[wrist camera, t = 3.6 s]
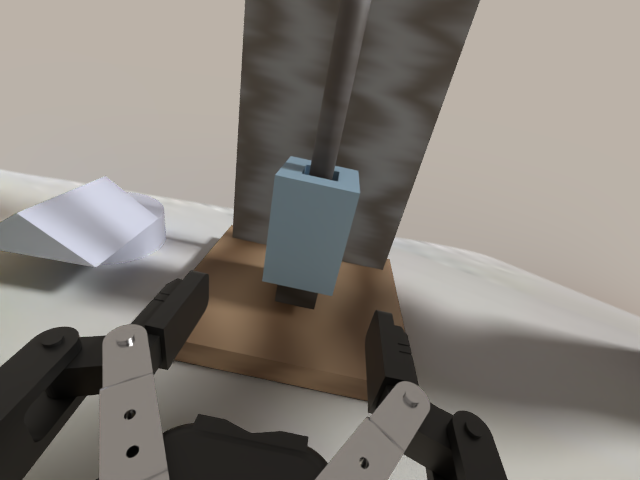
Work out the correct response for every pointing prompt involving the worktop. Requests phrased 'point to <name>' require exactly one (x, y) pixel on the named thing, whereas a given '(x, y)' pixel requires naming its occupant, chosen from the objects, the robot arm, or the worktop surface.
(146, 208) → the wedge on round base
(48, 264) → the worktop surface
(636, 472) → the worktop surface
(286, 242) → the sleeve
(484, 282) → the worktop surface
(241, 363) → the grey rod stand
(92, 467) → the worktop surface
